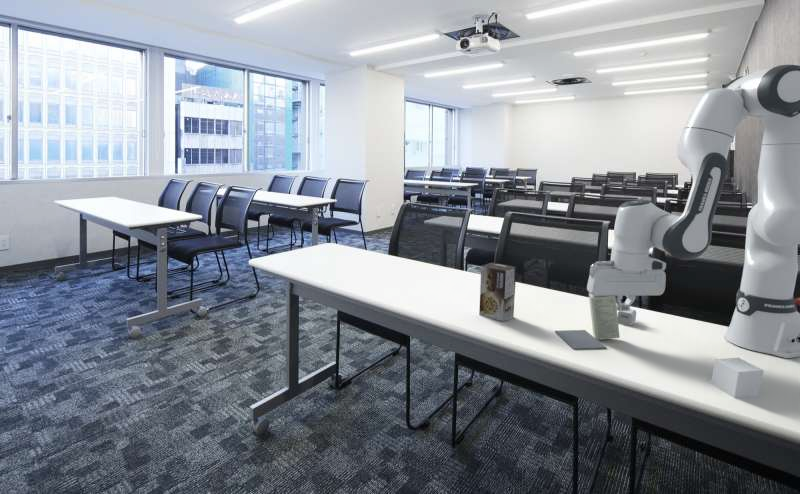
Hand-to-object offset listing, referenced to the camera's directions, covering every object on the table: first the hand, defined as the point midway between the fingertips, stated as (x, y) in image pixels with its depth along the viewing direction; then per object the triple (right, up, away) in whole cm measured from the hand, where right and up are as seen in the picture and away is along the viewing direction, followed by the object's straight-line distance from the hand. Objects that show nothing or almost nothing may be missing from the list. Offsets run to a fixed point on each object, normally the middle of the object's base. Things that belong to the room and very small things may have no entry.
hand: (622, 310), depth 124 cm
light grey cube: (+12, -14, -25) cm, 31 cm away
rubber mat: (-12, -8, +1) cm, 14 cm away
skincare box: (-4, -8, +1) cm, 9 cm away
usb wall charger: (+9, -6, +15) cm, 18 cm away
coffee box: (-31, -5, +19) cm, 36 cm away
